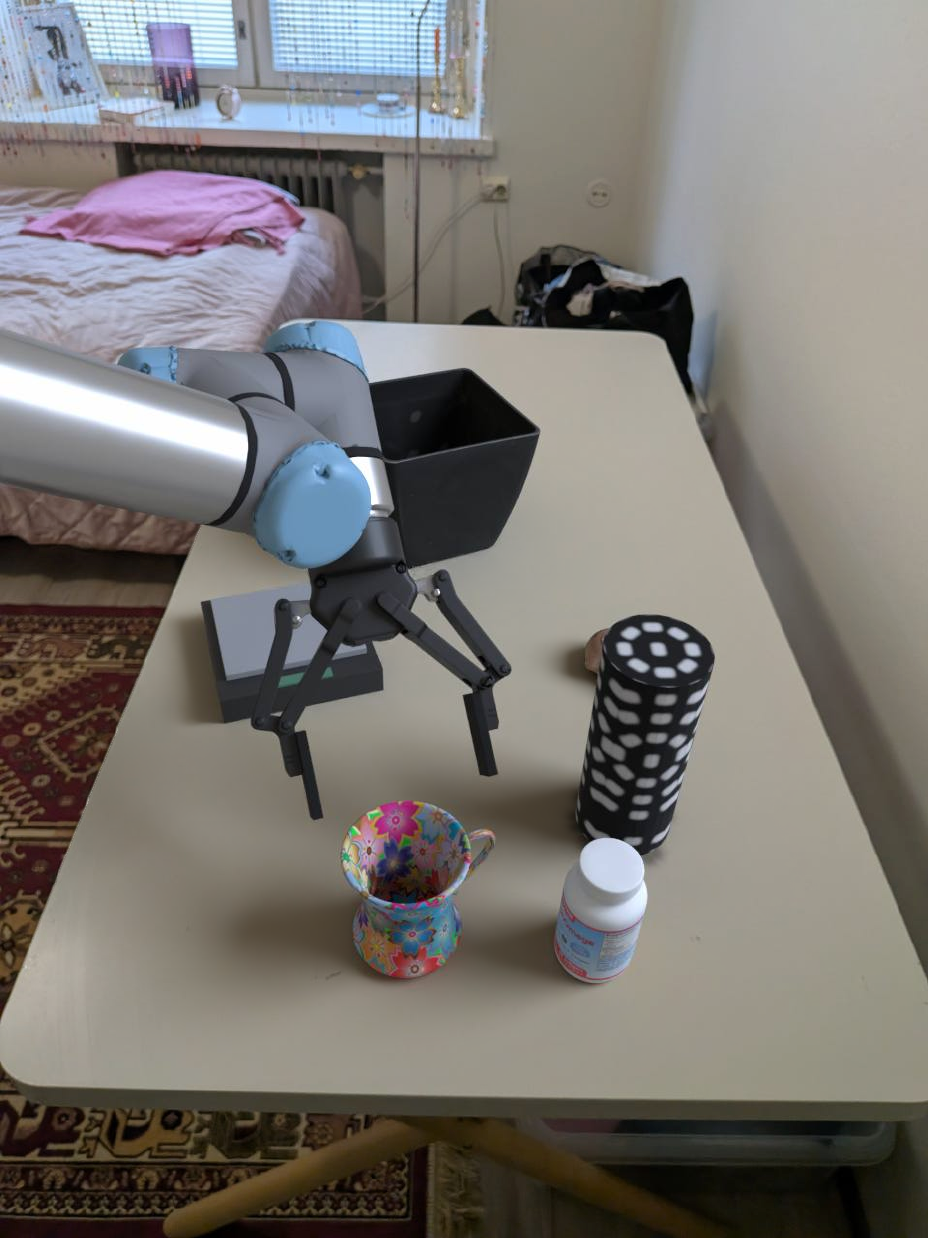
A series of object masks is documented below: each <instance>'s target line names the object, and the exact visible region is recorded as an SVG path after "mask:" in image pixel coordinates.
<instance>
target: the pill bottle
mask: <svg viewBox="0 0 928 1238" xmlns="http://www.w3.org/2000/svg"><path fill="white" fill-rule="evenodd" d="M641 856H642V855H639V854H638V852H637V851H636V850H635V849H634V848H633V847H632V846H630V845H629V844H627V843H625V842H623V841H621V840H618V839H614V838H600V839H596V840H594V841H591V842H590V841H589V842H588V843H586V845H585V846H583V848H582V849H581V851H580V853H579V856H578V860H577V861H576V862H575V863H574V864H573V865H572V866H571V867H570V869H569V870H568V871H567V874H566V875H565V878H564V882H563V887H562V894H561V899H560V903H559V904H560V905H559V910H558V914H557V915H558V916H557V920H556V927H555V933H554V939H553V947H554V952H555V955H556V958H557V960H558V962H559V964H560V965H561V966H562V968H563V969H564V970H565V971H566V972H567V973H568V974H570V975H571V976H573V977H574V978H575V979H578V980H580V981H583V982H585V983H590V984H603V983H608V982H611V981H613V980H614V979H617V978H618V977H619V976H621V975H622V974H623V973H624V972H625V971H626V970H627V969H628V967H629V965H630V963H631V961H632V959H633V955H634V952H635V948H636V945H637V941H638V937H639V934H640V930H641V927H642V922H643V919H644V916H645V912H646V908H647V905H648V904H647V903H648V888H647V885H646V882H645V880H644V877H645V864H644V861H643V858H642V857H641Z"/></svg>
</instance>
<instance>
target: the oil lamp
mask: <svg viewBox="0 0 928 1238" xmlns="http://www.w3.org/2000/svg"><path fill="white" fill-rule="evenodd" d="M609 628H610V627H607V628H603V629H600V630H598V631H596V632H595V633H593V634H592V636H591V637H590V638H589V639H588V640H587V642H586V644H585V647H584V657H585V663H584V667H585V668H586V669H587V670H588V671H592V672H593V673H596V674H597V675H598V671H599V665H600V659H601V653H602V647H603V641H604V637H605V634H606V633H607V631H608V629H609Z"/></svg>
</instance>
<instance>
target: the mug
mask: <svg viewBox="0 0 928 1238" xmlns="http://www.w3.org/2000/svg"><path fill="white" fill-rule="evenodd" d="M466 832H467V831H465V829H464V827H463V826H462V825H461V823H460V822H459V821H458V820H457V819H456V818H455V817H454V816H453V815H451V813H449V812H448V811H447V810H444V809H442V808H441V807H438V806H436V805H434V804H430V803H427V802H423V801H418V800H417V801H416V800H400V801H399V800H398V801H391V802H387V803H384V804H382V805H378V806H376V807H374V808H372V809H370V810H368V811H367V812H365V813H364V814H362V815H361V816H359V818H358V819H357V820H356V821H355V822H354V823H353V824H352V825H351V827H350V828H349V829H348V831H347V833H346V835H345V836H344V839H343V841H342V844H341V850H340V865H341V869H342V873H343V876H344V878H345V879H346V881H347V883H348V884H349V886H350V887H351V888H352V890H353V891H354V892H355V893H356V894H357V895H358V896H359V897H360V899H361V903H360V904H359V906H358V908H357V909H356V912H355V915H354V918H353V921H352V938H353V943H354V945H355V947H356V950H357V952H358V953H359V955H360V957H361V958H362V959H363V960H364V962H365V963H366V964H368V965H369V966H370V967H371V968H373V969H374V970H375V971H377V972H379V973H381V974H384V975H386V976H389V977H393V978H398V979H413V978H418V977H422V976H425V975H428V974H430V973H433V972H435V971H437V970H438V969H439V968H442V966H444V964H446V963H447V962H448V961H449V960H450V958H451V957H452V956H453V954H454V953H455V952H456V950H457V948H458V945H459V943H460V940H461V937H462V931H463V930H462V929H463V928H462V927H463V926H462V918H461V914H460V912H459V909H458V907H457V905H456V903H455V902H454V900H453V899H452V896H457V895H458V894H459V890H458V889H459V887H460V886H461V885H462V884H463V883H464V882H465V881H466V880H468V879H469V878H470V877H471V876H472V875H473V874H475V872H477V871H478V870H479V868H480V867H481V866H483V864H484V863H485V862H486V860H487V859H488V858H489V856H490V855H491V853H492V852H493V849H494V847H495V844H496V836H495V835H494V833H493V831H491V830H490V829H487V828H480V829H475V830H473V831H471V832H469V833H466ZM483 838H487V841H486V843H485V844H484V847H483V848H482V850H481V851H480V852H479V854H478V855H477V856H476V857H475V859H473V861H472V860H471V859H472V848H471V844H472V843H474V842H476V841H477V840H480V839H483Z"/></svg>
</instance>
